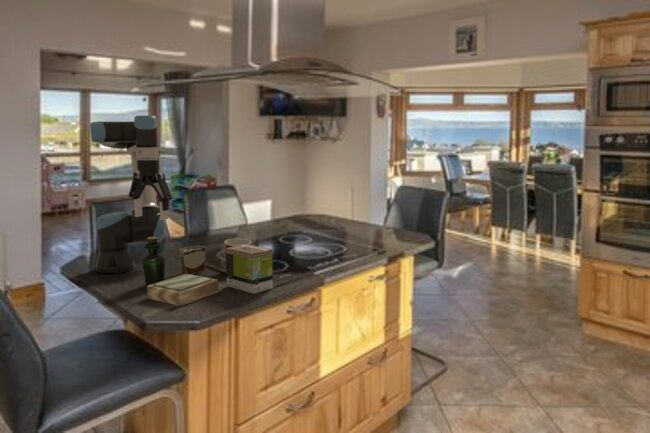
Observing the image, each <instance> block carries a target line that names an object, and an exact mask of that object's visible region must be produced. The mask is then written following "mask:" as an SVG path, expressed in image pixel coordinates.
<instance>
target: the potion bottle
mask: <svg viewBox="0 0 650 433" xmlns="http://www.w3.org/2000/svg"><path fill="white" fill-rule="evenodd" d="M147 240H148V242H146V243H145V245H144V248H145V249H146V250H148V251H147V252H148V255H146V256H145V257H143V259H142V260H141V263H142V268H143V275H144V281H145V282H144V283H145V286H146V287H147V286H148V285H152V284H154V283H157V282H161V281H164V280H166V279H165V274H166V273H165V272H166V258H165V256H163V255H161V254H158V252H159V248H162V244H161V243H160V242H158V241H157V240H158V237H148V238H147Z"/></svg>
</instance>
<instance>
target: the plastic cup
mask: <svg viewBox="0 0 650 433" xmlns="http://www.w3.org/2000/svg"><path fill="white" fill-rule="evenodd" d="M251 243H252V241H251V240H250V239H247V238H241V237H239V238H236V237H235V238H229V239H226V240H224V244H225V249H226V248H229V247H234V246H239V245H244V244H247V245H251Z"/></svg>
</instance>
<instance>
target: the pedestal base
mask: <svg viewBox="0 0 650 433" xmlns="http://www.w3.org/2000/svg"><path fill="white" fill-rule="evenodd" d="M146 292H147V299H148V300H153V301H158V302H162V303H165V304H171V305H175V306H179V307H182V306H185V305H187V304H190V303H193V302H196V301H198V300H201V299H204V298H207V297H208V296H212V295H213V294H216V293H219V292H220V291H219V279H216V278H215V279H214V278H211V277H207V276H206V277H204V276H200V275H196V274H195V275H194V274H192V275H190V274H179V275H177V276H174V277H171V278H168V279H164V281H161V282H157V283H154V284H152V285H148V286H146Z"/></svg>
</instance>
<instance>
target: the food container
mask: <svg viewBox="0 0 650 433" xmlns="http://www.w3.org/2000/svg"><path fill="white" fill-rule="evenodd" d="M207 248H208V247H206V246H204V245H192V246H191V245H190V246H185V247H182V248H180V249H179V251H178V252H179V253H178V256H179V257H180V260H181V267H182V273H183V274H190V275H194V274H195V275H196V274H199V273H202V272H205V271H206V258H207V257H206V256H207V255H206V254H207V252H208V249H207ZM183 274H182V275H183Z"/></svg>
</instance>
